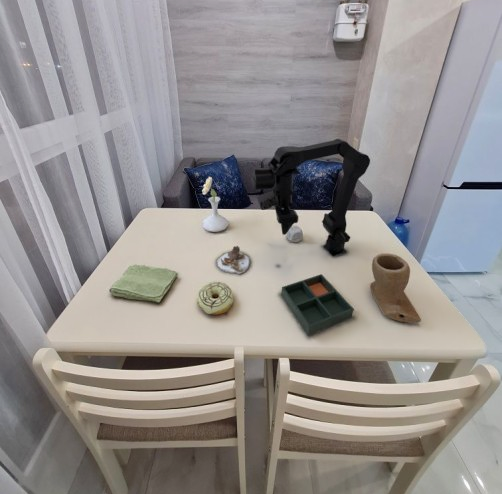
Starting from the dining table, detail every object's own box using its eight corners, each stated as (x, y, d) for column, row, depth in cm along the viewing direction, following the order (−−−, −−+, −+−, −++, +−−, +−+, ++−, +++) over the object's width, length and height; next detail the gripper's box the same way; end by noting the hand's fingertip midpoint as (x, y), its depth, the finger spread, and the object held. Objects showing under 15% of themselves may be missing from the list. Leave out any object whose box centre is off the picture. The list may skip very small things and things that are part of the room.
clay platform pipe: (359, 283, 87) (368, 246, 80) (396, 285, 86) (409, 248, 80) (376, 323, 73) (388, 283, 67) (420, 326, 72) (437, 286, 66)
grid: (320, 281, 87) (321, 274, 86) (351, 317, 75) (354, 309, 73) (281, 295, 82) (281, 286, 80) (308, 335, 69) (309, 327, 68)
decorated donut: (207, 323, 72) (206, 314, 71) (192, 298, 80) (191, 288, 79) (239, 306, 78) (239, 297, 76) (222, 283, 86) (221, 275, 84)
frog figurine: (222, 249, 102) (222, 241, 100) (252, 254, 99) (252, 246, 98) (212, 270, 91) (211, 261, 90) (246, 275, 89) (246, 266, 88)
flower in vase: (207, 219, 122) (203, 168, 111) (231, 221, 120) (229, 170, 110) (198, 235, 110) (193, 180, 99) (224, 237, 109) (222, 182, 98)
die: (302, 241, 107) (303, 231, 105) (291, 243, 106) (292, 233, 104) (297, 234, 111) (298, 224, 109) (286, 236, 110) (286, 226, 108)
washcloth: (161, 306, 78) (159, 298, 76) (107, 297, 80) (105, 289, 79) (180, 274, 89) (179, 267, 88) (132, 267, 92) (130, 260, 91)
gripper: (255, 176, 93) (255, 214, 100) (263, 200, 76) (262, 244, 83) (286, 175, 94) (284, 213, 101) (300, 199, 77) (296, 242, 84)
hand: (281, 226), depth 92 cm, fingers open, 9 cm apart
